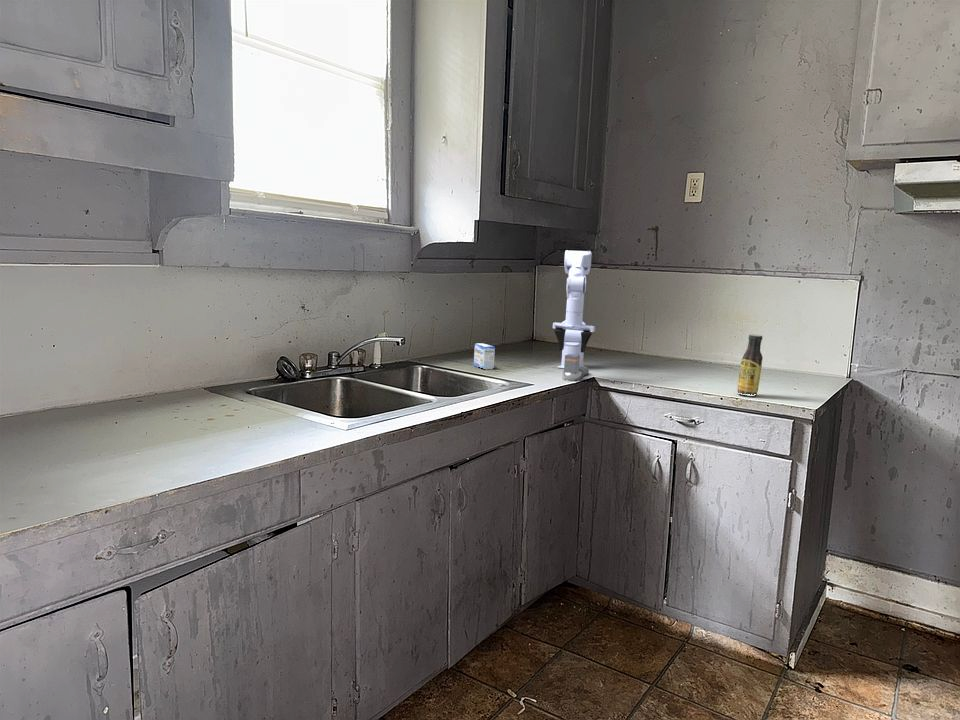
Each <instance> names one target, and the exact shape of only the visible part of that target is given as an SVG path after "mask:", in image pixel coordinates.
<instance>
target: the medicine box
mask: <svg viewBox="0 0 960 720" xmlns="http://www.w3.org/2000/svg"><path fill="white" fill-rule="evenodd" d="M495 349H496V347H495V345H494V346H493V345H490V344H486V343H483V342H482V343H480V342H479V343H475V344H474V351H473V352H474V353H473V355H474V356H473V367H474V366H477V367H480V368H483V369H493V368H494V367H495V355H496V354H495V353H496V352H495ZM477 367H476V368H477ZM480 368H479V369H480ZM483 369H482V370H483ZM493 370H494V369H493Z"/></svg>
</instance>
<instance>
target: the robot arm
mask: <svg viewBox="0 0 960 720" xmlns="http://www.w3.org/2000/svg"><path fill="white" fill-rule="evenodd" d="M592 253H593V252H591V250H568V249H566V250H565V252H564V264H563V265H564V268H563V269H564V272H565V274H567V275H568V277H567V278H566V289H565V290H566V298H567V299H566V309H565V320H563V321H561V322H553V323H552V329H554V335H555V336H556V339H557V342H558V349H559V351H561V363H560V364H561V365H558V366H557V368H559V369H564V362H565V355H567V354H574V355H580V362H579V367H586V365H584V357H585V356H584V354H585V351H586V347H587V345H588V342H589V340H590V339H591V336H592V335H593V333H594V332H596V326H594V325H588V324H586V322H584V321H583V318H584V317H583V316H584V301H585V294H586V291H587V275H589V273H590V271H591V267H592Z"/></svg>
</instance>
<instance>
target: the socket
mask: <svg viewBox="0 0 960 720" xmlns="http://www.w3.org/2000/svg"><path fill="white" fill-rule="evenodd" d="M579 362H580V355H574V354H567V355H565V362H564V368H563V371H564V373H571V374H576V373H578V372H579Z"/></svg>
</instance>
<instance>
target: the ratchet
mask: <svg viewBox="0 0 960 720" xmlns="http://www.w3.org/2000/svg"><path fill="white" fill-rule="evenodd" d="M589 370H590V367H587V366H585V367H579V372H578V373H576V374H571V373H564V370H563V371H562V380H563V379H564V380H563V381H566V380H568V381H567V382H578V381H577V380H579V381H580V380H581V379H580V378H581V377H580V376H583V375H585V374H587V373H588V374H589ZM588 374H587V375H588ZM585 376H586V375H585ZM583 377H584V376H583Z"/></svg>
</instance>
